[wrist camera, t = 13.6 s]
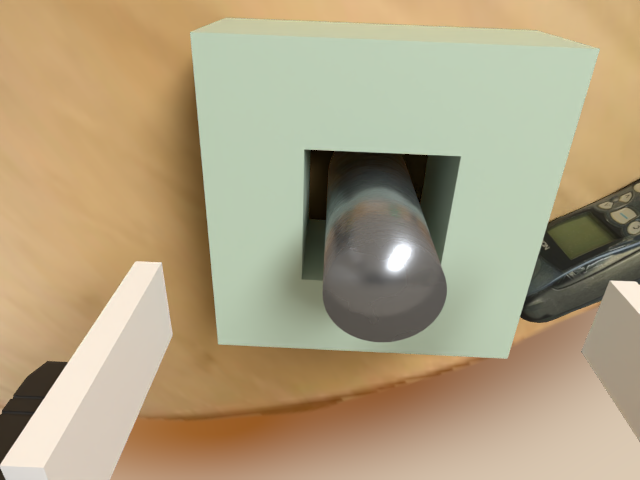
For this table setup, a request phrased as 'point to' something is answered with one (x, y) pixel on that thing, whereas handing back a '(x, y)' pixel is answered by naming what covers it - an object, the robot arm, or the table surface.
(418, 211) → the long pin
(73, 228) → the table surface
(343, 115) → the guide block
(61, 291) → the table surface
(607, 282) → the mobile phone
